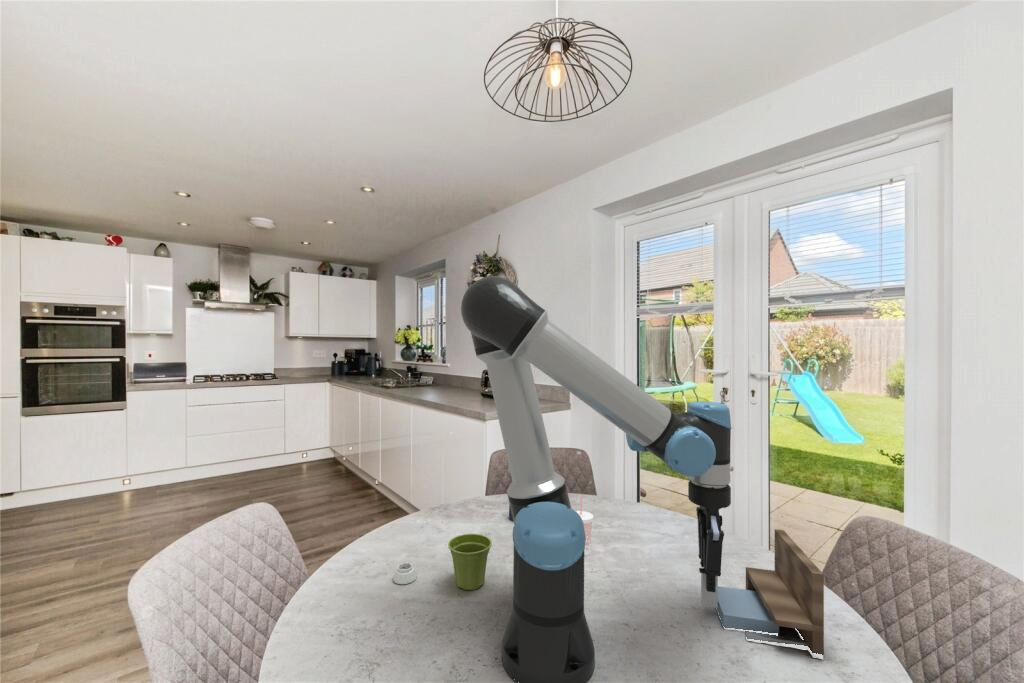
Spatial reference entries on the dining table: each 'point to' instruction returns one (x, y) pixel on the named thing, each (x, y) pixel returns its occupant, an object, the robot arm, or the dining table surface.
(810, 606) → the shelf
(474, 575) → the plant pot
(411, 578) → the white jar
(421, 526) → the dining table surface
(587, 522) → the beverage cup
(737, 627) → the light blue block
